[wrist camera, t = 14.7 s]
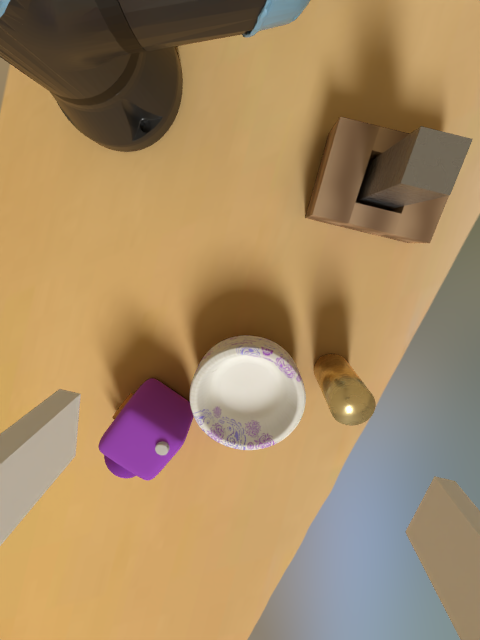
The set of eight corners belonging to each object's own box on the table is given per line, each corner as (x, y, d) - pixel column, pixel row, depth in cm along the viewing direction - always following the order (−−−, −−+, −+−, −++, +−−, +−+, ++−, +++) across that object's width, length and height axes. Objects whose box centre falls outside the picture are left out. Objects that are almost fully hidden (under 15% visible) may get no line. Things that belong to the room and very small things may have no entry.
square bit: (348, 204, 37) (400, 183, 24) (359, 169, 36) (421, 126, 22) (379, 211, 37) (449, 195, 24) (391, 176, 36) (472, 139, 22)
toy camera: (112, 432, 49) (76, 480, 39) (140, 367, 45) (109, 402, 35) (170, 458, 49) (149, 511, 40) (202, 396, 46) (188, 438, 36)
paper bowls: (303, 331, 42) (314, 352, 34) (291, 421, 46) (299, 456, 39) (200, 324, 43) (188, 342, 35) (198, 413, 47) (187, 446, 39)
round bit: (309, 380, 44) (324, 419, 34) (319, 350, 43) (338, 382, 33) (342, 388, 44) (366, 429, 34) (353, 358, 43) (382, 392, 33)
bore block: (305, 217, 38) (312, 214, 33) (328, 133, 35) (340, 116, 30) (407, 242, 38) (429, 243, 33) (439, 160, 35) (468, 148, 30)
